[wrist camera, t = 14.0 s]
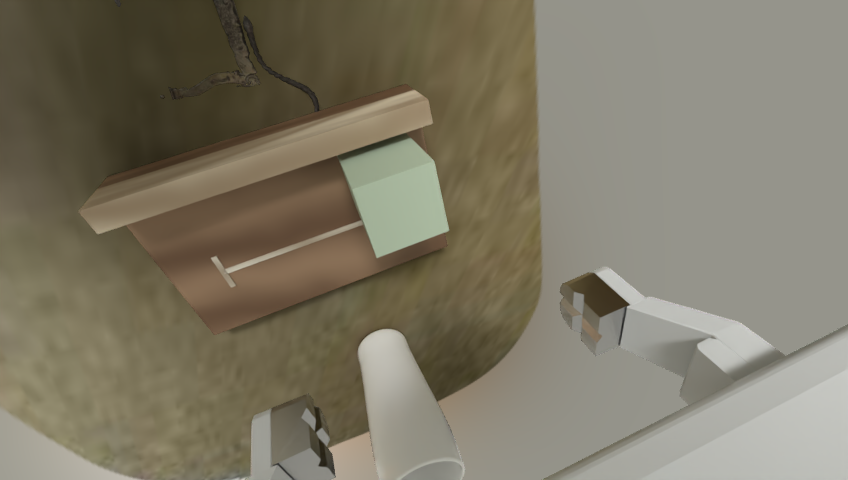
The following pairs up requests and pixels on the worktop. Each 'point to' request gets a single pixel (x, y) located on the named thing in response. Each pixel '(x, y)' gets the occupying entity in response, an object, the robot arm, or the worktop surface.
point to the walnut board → (263, 210)
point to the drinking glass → (404, 414)
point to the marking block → (395, 193)
